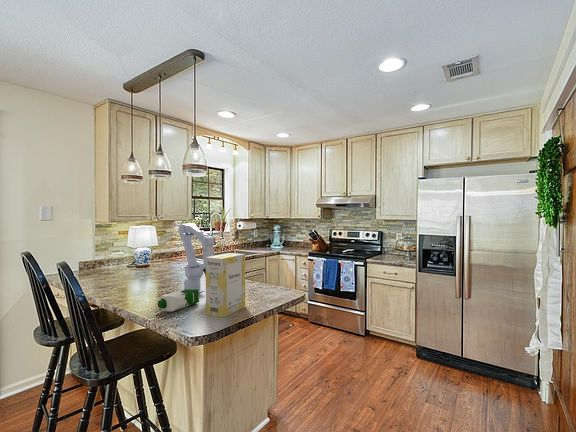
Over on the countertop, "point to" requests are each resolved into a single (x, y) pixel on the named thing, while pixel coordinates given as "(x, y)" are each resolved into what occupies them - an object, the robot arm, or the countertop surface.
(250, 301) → the countertop surface
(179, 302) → the soya milk
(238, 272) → the pasta box
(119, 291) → the countertop surface
